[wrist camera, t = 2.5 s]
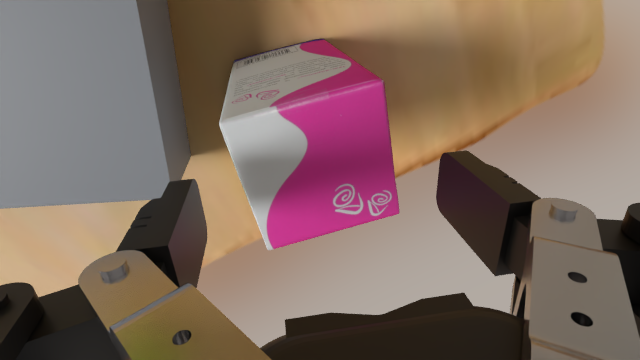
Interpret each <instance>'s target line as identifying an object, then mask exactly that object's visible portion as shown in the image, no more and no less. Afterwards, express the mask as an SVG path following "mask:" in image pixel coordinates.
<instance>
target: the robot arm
mask: <svg viewBox="0 0 640 360" xmlns="http://www.w3.org/2000/svg"><path fill="white" fill-rule="evenodd" d="M436 199H437V205H438V208H439V210H440V212H441V213H442V215H443V216H444V217H445V218H446V219H447V221H448V222H449V223H450V224H451V225H452V226H453V228H454V229H455V230H456V231H457V232H458V233H459V234H460V236H461V237H462V238H463V239H464V240H465V241H466V243H467V244H468V245H469V246H470V247H471V249H472V250H473V251H474V252H475V253H476V254H477V256H478V257H479V258H480V259H481V260H482V261H483V262H484V264H485V265H486V266H487V267H488V268H489V269H490V271H491V272H492V273H493V274H494V275H495V276H498V275H505V274H512V273H514V274H515V280H514V284H513V289H512V298H511V306H510V314H509V313H505V312H502V311H499V310H494V309H490V308H484V307H477V306H473V305H472V303H471V302H470V301H469V299H468V298H467V297H466V295H465V293H459V294H452V295H446V296H439V297H433V298H425V299H421V300H418V301H416V302H413V303H411V304H408V305H406V306H403V307H400V308H398V309H396V310H393V311H390V312H388V313H386V314H382V315H362V314H344V313H326V314H319V315H313V316H306V317H300V318H293V319H286V320H285V325H286V326H285V327H286V335H284V336H281V337H279V338H277V339H275V340H273V341H271V342H269V343H267V344H266V345H264V346H263V347H261V348H259V347H258V346H256V344H255V343H253V342H252V341H251V340H250V339H249V338H248V337H247V336H246V335H245V334H244V333H243V332H242V331H241V330H240V329H239V328H238V327H236V326H235V325H234V324H233V323H232V322H231V321H230V320H229V319H228V318H227V317H226V316H225V315H224V314H223V313H222V312H221V311H219V310H218V309H217V308H216V307H215V306H214V305H213V304H212V303H211V302H210V301H209V300H208V299H207V298H206V297H205V296H204V295H203V294H201V293H200V292H199V291H198V290H197V289H196V288H197V283H198V279H199V274H200V270H201V265H202V260H203V256H204V251H205V247H206V242H207V226H206V220H205V216H204V211H203V207H202V202H201V198H200V193H199V189H198V185H197V182H196V180H195V179H188V180H179V181H170V182H169V183H168V185H167V187H166V189H165V191H164V193H163V195H162V197H161V198H155V199H152V200H151V201H150V202H148V203H147V204H146V205H144V206H143V207H142V208H141V209H140V211H139V212H138V214H137V216H136V218H135V220H134V221H133V223H132V225H131V226H130V227H131V229H129V230H128V232H127V233H126V235H125V237H124V239H123V240H122V242H121V244H120V245H119V247H118V249H117V251H116V252H114V253H111V254H108V255H106V256H103V257H101V258H99V259H98V260H96V261H94V262H93V263H91V264H90V265H89V266H87V267H86V268H85V269H84V270H83V272H82V273H81V275H80V276H79V279H78V283H79V284H78V285H75V286H73V287H70V288H67V289H64V290H61V291H57V292H54V293H51V294H48V295H45V296H42V297H39V298H38V296H37V294H36V292H35V290H34V288H33V287H32V286H31V285H30V284H27V283H10V284H5V285H1V286H0V360H640V203H635V204H632V205H630V206H629V207H628V209H627V212H626V214H625V217H624V219H623V220H606V219H596V216H595V215H594V213H593V212H592V211H591V210H590V209H588V208H587V207H585V206H583V205H581V204H578V203H576V202H573V201H569V200H565V199H558V198H543V199H541V198H540V197H538V196H537V195H535V194H534V193H533V192H531V191H530V190H528V189H527V188H525V187H524V186H523V185H521V184H520V183H517V181H515V180H514V179H513V178H511V177H509V176H508V175H507V174H505V173H504V172H502V171H501V170H499V169H498V168H496V167H493V166H490V165H488V164H485V163H484V162H482V161H481V160H480V159H478V158H477V157H476V156H474V155H473V154H471V153H470V152H469V151H457V152H447V153H443V154H442V156H441V159H440V166H439V175H438V186H437V195H436Z"/></svg>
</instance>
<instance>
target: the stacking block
mask: <svg viewBox="0 0 640 360" xmlns="http://www.w3.org/2000/svg"><path fill="white" fill-rule="evenodd" d="M190 157H191V153H190V146H189V140H188V133H187V127H186V120H185V114H184V107H183V101H182V94H181V88H180V81H179V75H178V68H177V62H176V55H175V49H174V42H173V36H172V29H171V23H170V16H169V10H168V3H167V0H0V209H2V208H19V207H36V206H53V205H70V204H87V203H104V202H121V201H138V200H152V199H155V198H161V197H162V195H163V193H164V191H165V189H166V187H167V185H168V183H169V182H170V181H179V180H181V179H182V176H183V174H184V171H185V169H186V167H187V164H188V162H189V160H190Z"/></svg>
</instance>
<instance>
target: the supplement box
mask: <svg viewBox="0 0 640 360" xmlns="http://www.w3.org/2000/svg"><path fill="white" fill-rule="evenodd" d="M219 126H220V129H221V131H222V134H223V137H224V140H225V142H226V145H227V148H228V150H229V153H230V155H231V158H232V160H233V163H234V166H235V168H236V171H237V173H238V176H239V178H240V181H241V183H242V186H243V188H244V191H245V193H246V196H247V199H248V201H249V204H250V206H251V209H252V211H253V214H254V216H255V219H256V221H257V224H258V226H259V229H260V231H261V234H262V236H263V239H264V241H265V244H266V247H267V249H268V250H272V249H275V248H279V247H283V246H286V245H289V244H293V243H297V242H300V241H304V240H307V239H311V238H315V237H318V236H322V235H325V234H328V233H332V232H335V231H339V230H343V229H346V228H350V227H353V226H356V225H360V224H364V223H368V222H371V221H374V220H378V219H382V218H385V217H388V216H393V215H396V214H399V204H398V196H397V189H396V183H395V174H394V165H393V155H392V147H391V137H390V129H389V120H388V112H387V102H386V94H385V86H384V81H383V80H382V79H381V78H379V77H378V76H376V75H375V74H373V73H372V72H370V71H369V70H367V69H366V68H364V67H363V66H361V65H360V64H358V63H357V62H355V61H354V60H353V59H351V58H350V57H349V56H347V55H346V54H344V53H343V52H341V51H340V50H339V49H337V48H335V47H334V46H333V45H331V44H330V43H329V42H327V41H326V40H324V39H316V40H312V41H307V42H303V43H299V44H295V45H291V46H287V47H283V48H279V49H275V50H271V51H267V52H263V53H260V54H256V55H252V56H248V57H245V58H242V59H238V60H234V62H233V66H232V71H231V75H230V79H229V84H228V88H227V92H226V96H225V101H224V105H223V109H222V113H221V117H220V121H219Z"/></svg>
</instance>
